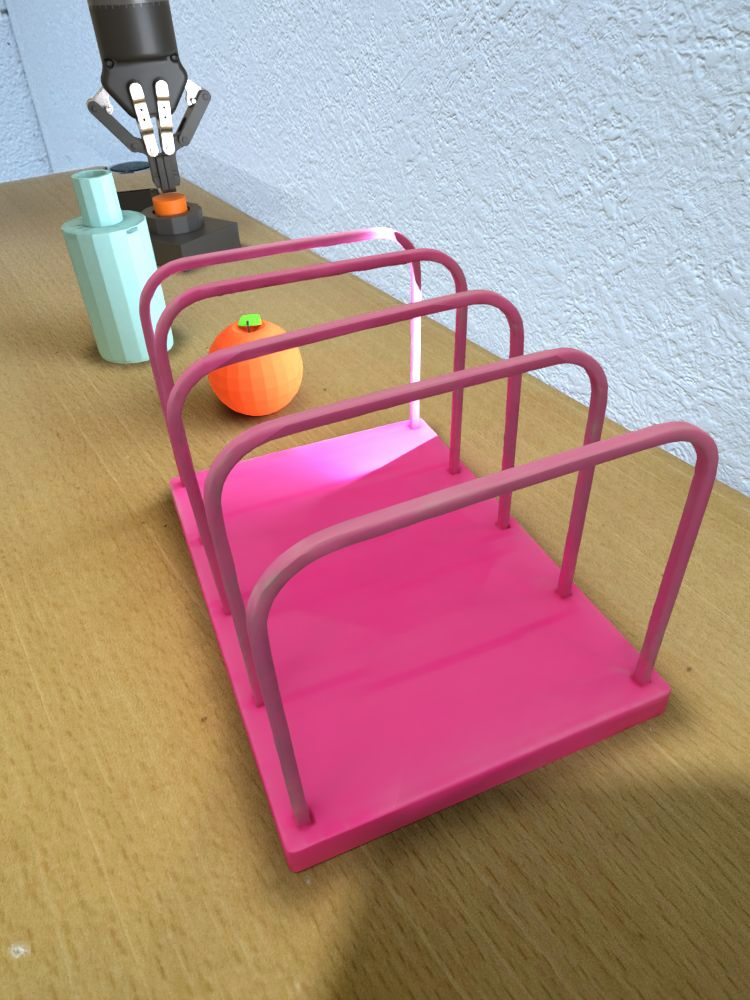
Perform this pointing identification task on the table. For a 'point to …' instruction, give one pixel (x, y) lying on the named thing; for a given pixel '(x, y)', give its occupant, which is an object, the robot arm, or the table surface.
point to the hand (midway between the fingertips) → (168, 190)
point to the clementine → (255, 370)
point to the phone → (137, 199)
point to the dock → (189, 234)
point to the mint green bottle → (112, 267)
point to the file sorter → (402, 576)
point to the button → (169, 204)
